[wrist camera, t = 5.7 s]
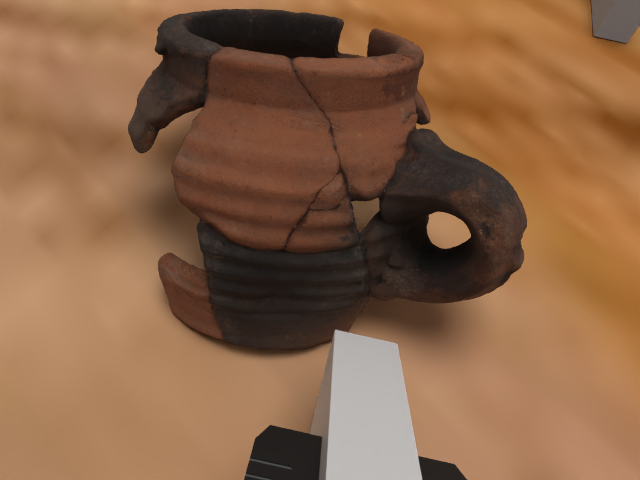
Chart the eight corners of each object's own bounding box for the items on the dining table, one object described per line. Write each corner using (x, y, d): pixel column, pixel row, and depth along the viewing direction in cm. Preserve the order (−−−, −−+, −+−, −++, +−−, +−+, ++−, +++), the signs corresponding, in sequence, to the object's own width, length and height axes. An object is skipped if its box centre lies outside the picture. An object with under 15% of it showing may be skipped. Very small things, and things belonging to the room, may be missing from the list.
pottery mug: (72, 299, 19) (38, 20, 14) (243, 194, 26) (252, -10, 22) (447, 472, 14) (549, 148, 10) (522, 287, 22) (598, 57, 18)
